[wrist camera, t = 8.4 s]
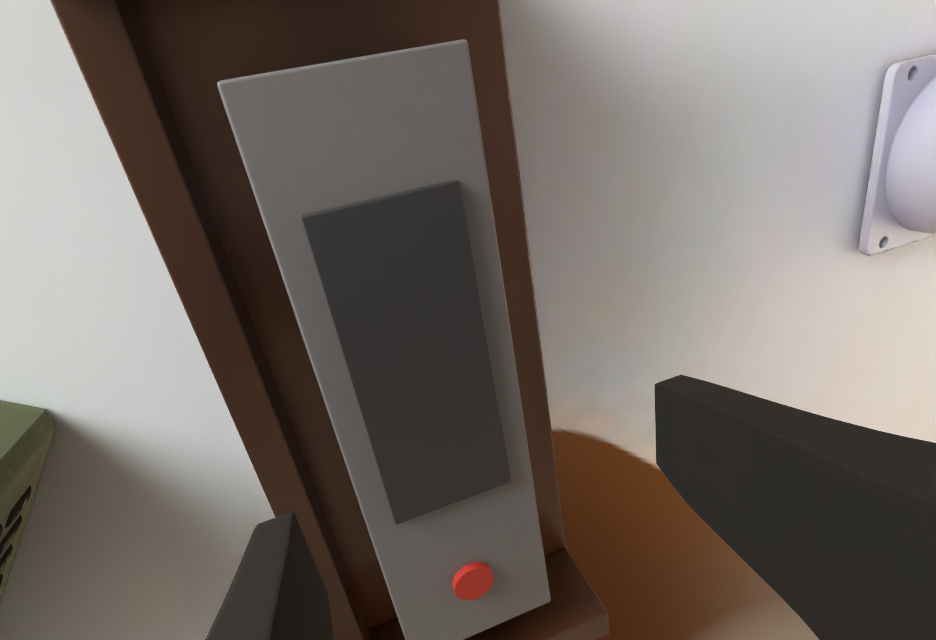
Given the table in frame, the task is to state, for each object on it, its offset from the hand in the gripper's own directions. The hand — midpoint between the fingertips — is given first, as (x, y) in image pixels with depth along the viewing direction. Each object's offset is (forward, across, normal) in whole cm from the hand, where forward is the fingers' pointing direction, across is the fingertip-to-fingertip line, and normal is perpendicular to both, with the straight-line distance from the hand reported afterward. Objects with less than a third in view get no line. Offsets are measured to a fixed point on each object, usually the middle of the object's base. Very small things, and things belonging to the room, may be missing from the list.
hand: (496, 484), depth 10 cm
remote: (+6, 0, 0) cm, 6 cm away
